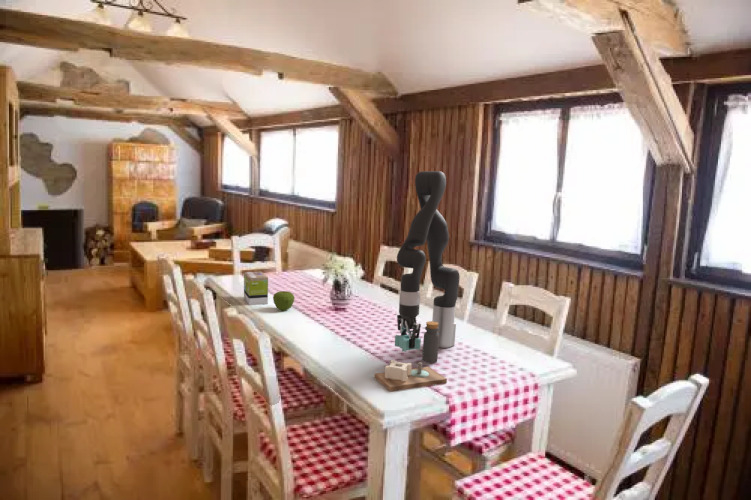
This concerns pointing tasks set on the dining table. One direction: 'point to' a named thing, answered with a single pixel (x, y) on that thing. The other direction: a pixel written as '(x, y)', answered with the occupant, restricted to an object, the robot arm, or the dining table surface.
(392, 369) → the cream gear
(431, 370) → the board
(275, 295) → the apple
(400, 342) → the teal gear
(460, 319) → the dining table surface
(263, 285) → the tea box
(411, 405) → the dining table surface
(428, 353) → the bottle
